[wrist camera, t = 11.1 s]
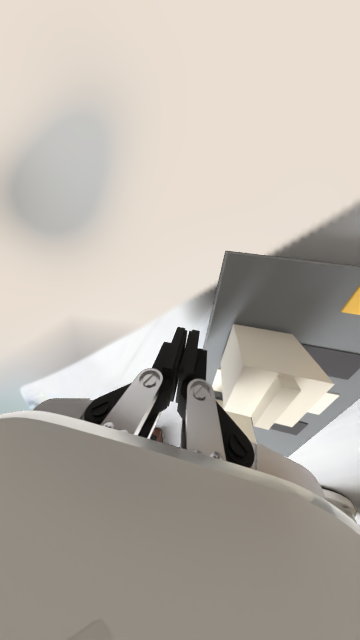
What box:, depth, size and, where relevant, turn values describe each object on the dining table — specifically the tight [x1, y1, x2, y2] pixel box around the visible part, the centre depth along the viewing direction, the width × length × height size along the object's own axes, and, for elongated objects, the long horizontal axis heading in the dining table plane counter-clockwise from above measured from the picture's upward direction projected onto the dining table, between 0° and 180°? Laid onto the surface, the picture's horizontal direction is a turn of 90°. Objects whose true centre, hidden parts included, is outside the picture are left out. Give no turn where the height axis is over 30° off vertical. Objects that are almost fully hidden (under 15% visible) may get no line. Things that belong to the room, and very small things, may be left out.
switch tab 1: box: [215, 399, 256, 444], centre depth 14 cm, size 4×4×5 cm
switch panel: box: [203, 251, 360, 457], centre depth 14 cm, size 13×22×2 cm, turn 175°
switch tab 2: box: [220, 324, 335, 430], centre depth 9 cm, size 4×4×5 cm
